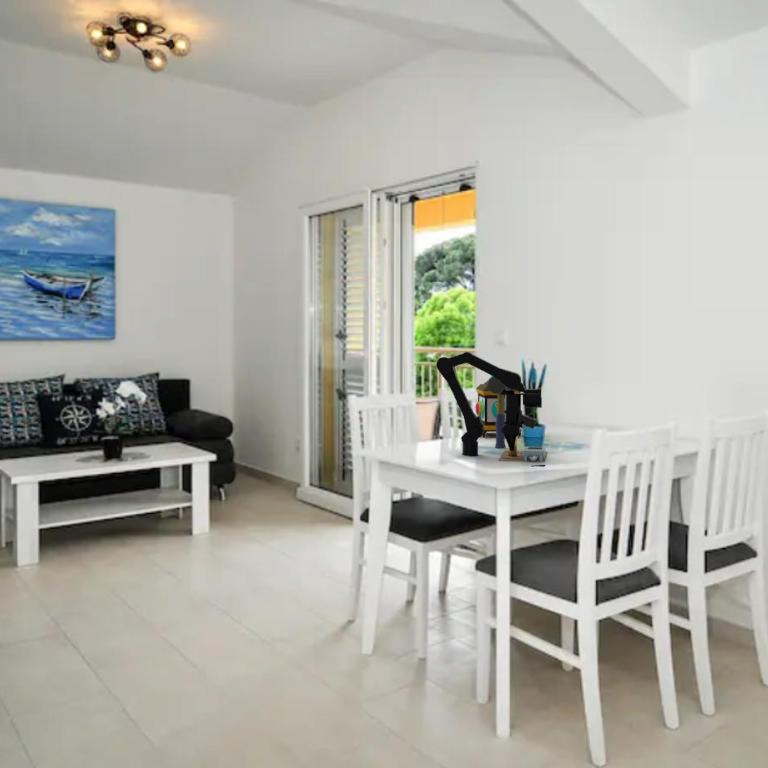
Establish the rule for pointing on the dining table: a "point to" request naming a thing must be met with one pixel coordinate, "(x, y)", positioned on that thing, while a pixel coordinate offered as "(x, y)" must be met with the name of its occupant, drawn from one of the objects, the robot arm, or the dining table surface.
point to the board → (517, 457)
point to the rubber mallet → (498, 410)
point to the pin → (514, 453)
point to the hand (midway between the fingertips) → (512, 450)
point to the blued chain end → (534, 454)
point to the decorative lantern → (488, 407)
